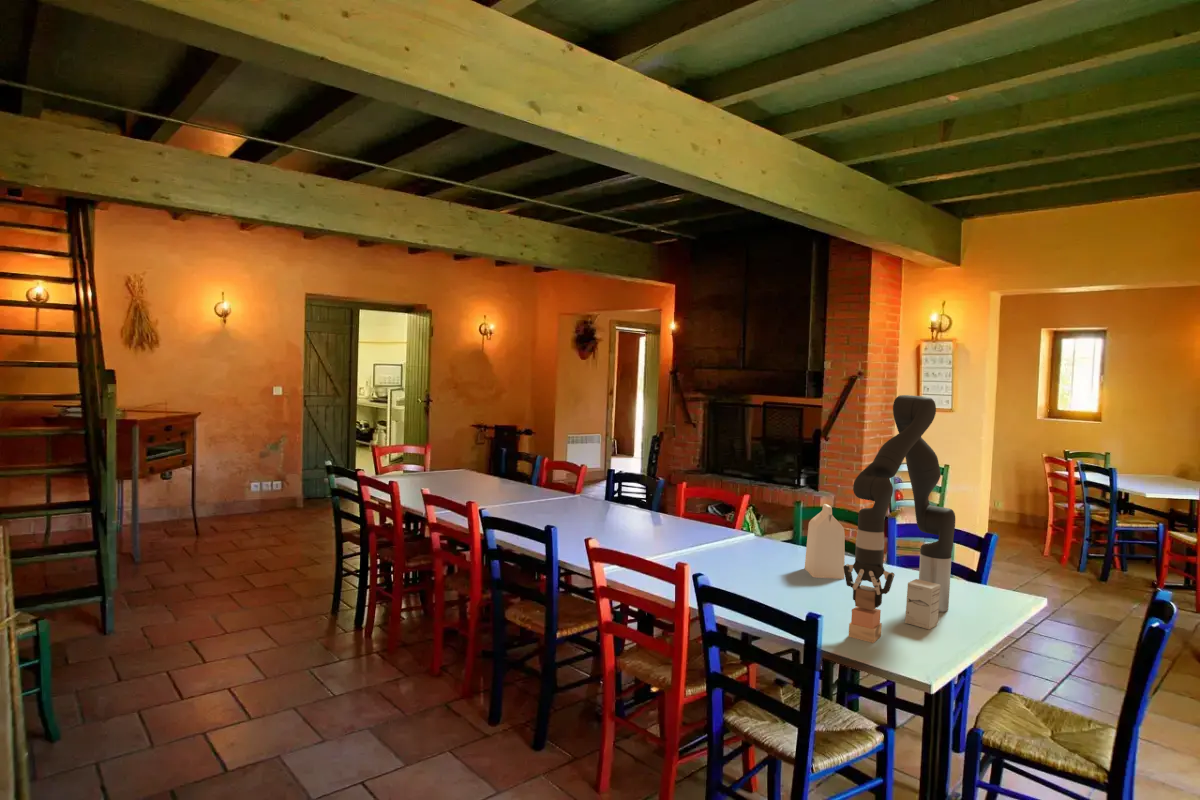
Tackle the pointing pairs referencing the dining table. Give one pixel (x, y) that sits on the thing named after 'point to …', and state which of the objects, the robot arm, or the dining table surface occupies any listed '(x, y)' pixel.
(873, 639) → the tower base
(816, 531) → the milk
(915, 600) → the supplement box
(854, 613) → the tower
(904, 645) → the dining table surface
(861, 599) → the walnut cube
